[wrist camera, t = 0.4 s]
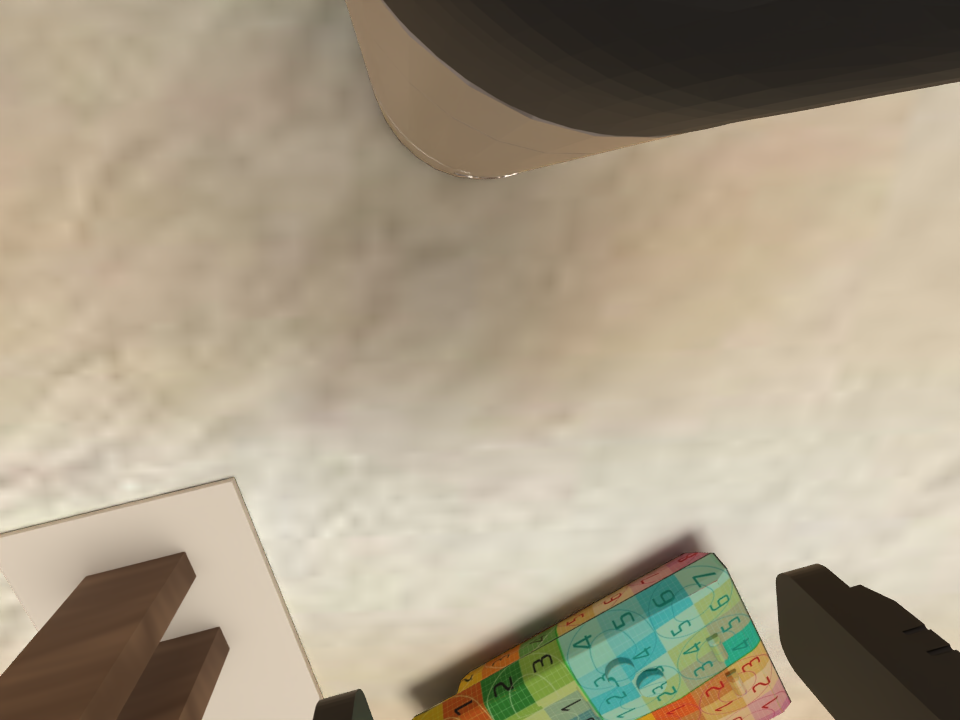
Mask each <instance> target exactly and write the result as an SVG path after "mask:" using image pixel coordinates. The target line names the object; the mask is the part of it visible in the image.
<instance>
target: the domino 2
mask: <svg viewBox="0 0 960 720" xmlns="http://www.w3.org/2000/svg"><path fill="white" fill-rule="evenodd" d="M229 650H230V648H229V646H228V643H227V641H226V639H225V637H224V635H223V633H222V630H221V628H220V626H219V627H215V628H212V629H208V630H204V631H200V632H196V633H192V634H189V635H185V636H181V637H177V638H173V639H169V640H166V641H162V642H159V644H158V646H157V648H156V650H155V651H154V653H153V655H152V657H151V659H150V660H149V662H148V664H147V666H146V667H145V669H144V671H143V673H142V675H141V676H140V678H139V680H138V682H137V684H136V685H135V687H134V689H133V691H132V692H131V694H130V696H129V698H128V700H127V701H126V703H125V705H124V707H123V708H122V710H121V712H120V714H119V716H118V717H117V719H116V720H202V718H203V715H204V713H205V710H206V708H207V705H208V703H209V700H210V698H211V695H212V693H213V690H214V688H215V685H216V683H217V680H218V678H219V675H220V673H221V670H222V667H223V665H224V662H225V660H226V657H227V655H228V652H229Z"/></svg>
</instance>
